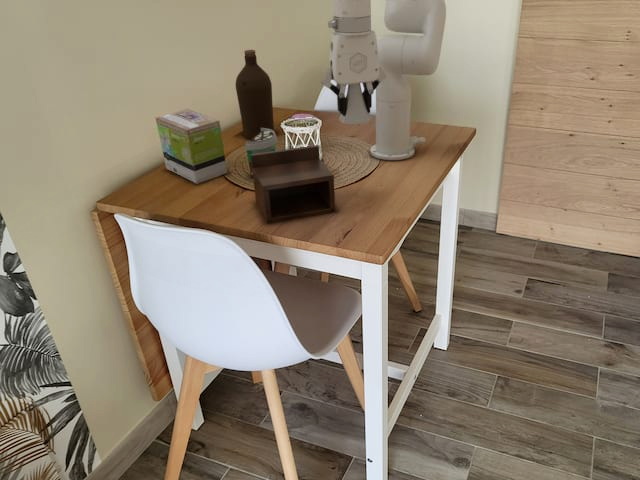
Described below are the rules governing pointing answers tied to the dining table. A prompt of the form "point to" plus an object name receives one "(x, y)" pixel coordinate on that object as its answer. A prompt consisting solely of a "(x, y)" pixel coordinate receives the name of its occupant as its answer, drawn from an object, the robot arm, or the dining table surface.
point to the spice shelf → (292, 184)
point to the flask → (355, 106)
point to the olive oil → (254, 97)
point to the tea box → (192, 145)
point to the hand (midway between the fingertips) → (354, 111)
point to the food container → (261, 144)
